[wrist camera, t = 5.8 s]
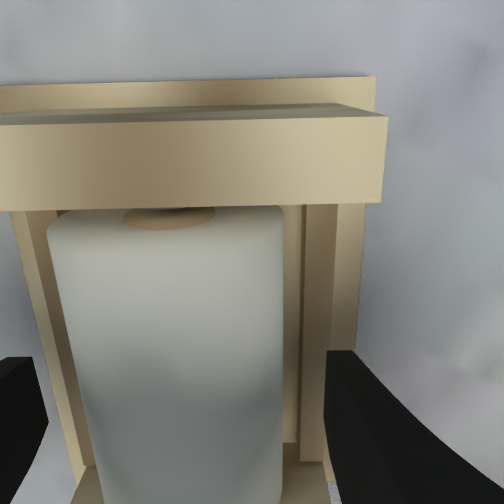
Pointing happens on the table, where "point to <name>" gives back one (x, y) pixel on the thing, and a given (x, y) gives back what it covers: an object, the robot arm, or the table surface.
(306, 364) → the beige wooden frame
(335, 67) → the table surface
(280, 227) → the roll
